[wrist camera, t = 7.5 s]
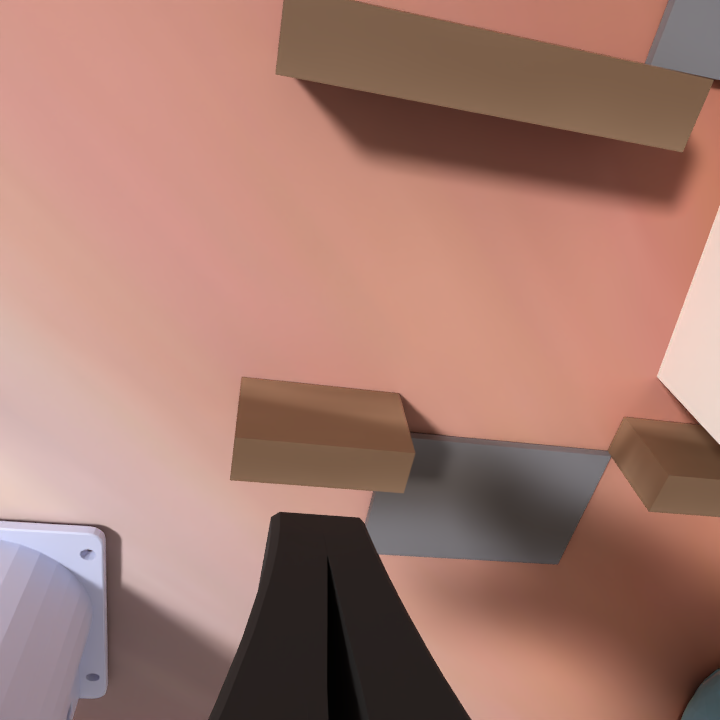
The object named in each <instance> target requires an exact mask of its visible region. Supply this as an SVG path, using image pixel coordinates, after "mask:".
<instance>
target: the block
mask: <svg viewBox="0 0 720 720" xmlns="http://www.w3.org/2000/svg"><path fill="white" fill-rule="evenodd" d="M657 377H658V378H659V380H660V381H661V382H662V383H663V384H664V385H665V386H666V387H667V388H668V389H669V390H670V391H671V393H672V394H673V395H674V396H675V397H676V398H677V399H678V400H679V401H680V402H681V403H682V404H683V406H684V407H685V408H686V409H687V410H688V411H689V412H690V413H691V414H692V415H693V416H694V417H695V419H696V420H697V421H698V422H699V423H700V424H701V425H702V426H703V427H704V428H705V429H706V430H707V432H708V433H709V434H710V435H711V436H712V437H713V438H714V439H715V440H716V441H717V442H718V443H719V445H720V207H719V210H718V213H717V215H716V218H715V221H714V223H713V226H712V229H711V232H710V234H709V237H708V240H707V242H706V245H705V248H704V250H703V253H702V256H701V259H700V261H699V264H698V267H697V269H696V272H695V275H694V278H693V280H692V283H691V286H690V288H689V291H688V294H687V296H686V299H685V302H684V305H683V307H682V310H681V313H680V315H679V318H678V321H677V324H676V326H675V329H674V332H673V334H672V337H671V340H670V342H669V345H668V348H667V351H666V353H665V356H664V359H663V361H662V364H661V367H660V370H659V372H658V375H657Z"/></svg>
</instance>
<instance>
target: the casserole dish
mask: <svg viewBox="0 0 720 720" xmlns="http://www.w3.org/2000/svg"><path fill="white" fill-rule="evenodd" d="M681 720H720V668H719V669H717V670H716V671H714V672H713V673H712V674H711V675H710V676H708V677H707V678H706V679H705V680H704V681H703V683H702V684H701V685H700V686H699V687H698V689H697V691H696V692H695V694H694V696H693V697H692V699H691V700H690V701H689V703H688V705H687V707H686V709H685V711H684V713H683V716H682V718H681Z"/></svg>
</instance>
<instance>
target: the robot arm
mask: <svg viewBox="0 0 720 720" xmlns="http://www.w3.org/2000/svg"><path fill="white" fill-rule="evenodd" d="M86 549H89V550H92V551H88V550H86ZM107 687H108V648H107V591H106V537H105V534H104V533H103V532H102V531H101V530H100V529H98V528H96V527H91V526H76V525H59V524H43V523H26V522H9V521H0V720H73V716H74V713H75V710H76V706H77V703H78V699H79V698H87V699H94V698H100V697H102V696H103V695H105V694H106V691H107ZM208 720H471V718H470V717H469V715H468V714H467V712H466V711H465V709H464V708H463V706H462V704H461V703H460V701H459V700H458V698H457V696H456V695H455V693H454V692H453V690H452V689H451V687H450V685H449V684H448V682H447V681H446V679H445V677H444V676H443V674H442V672H441V671H440V669H439V667H438V666H437V664H436V662H435V661H434V659H433V657H432V656H431V654H430V652H429V650H428V649H427V647H426V645H425V643H424V641H423V640H422V638H421V636H420V634H419V632H418V631H417V629H416V627H415V625H414V624H413V622H412V620H411V618H410V616H409V615H408V613H407V611H406V609H405V607H404V605H403V603H402V601H401V600H400V598H399V596H398V594H397V592H396V590H395V588H394V586H393V584H392V582H391V580H390V578H389V576H388V574H387V572H386V570H385V568H384V565H383V563H382V561H381V559H380V557H379V555H378V553H377V551H376V548H375V546H374V544H373V542H372V539H371V537H370V535H369V533H368V530H367V528H366V526H365V524H364V522H363V521H362V520H361V519H360V518H356V517H342V516H328V515H315V514H301V513H287V512H279V513H277V514H276V515H274V516H272V517H271V521H270V526H269V532H268V537H267V543H266V549H265V554H264V560H263V566H262V571H261V577H260V583H259V588H258V593H257V596H256V599H255V602H254V605H253V608H252V611H251V613H250V616H249V619H248V622H247V625H246V628H245V631H244V634H243V637H242V640H241V642H240V645H239V648H238V650H237V653H236V655H235V657H234V660H233V662H232V665H231V667H230V670H229V672H228V674H227V677H226V679H225V682H224V684H223V687H222V689H221V691H220V694H219V696H218V699H217V701H216V703H215V706H214V708H213V710H212V712H211V715H210V717H209V719H208Z"/></svg>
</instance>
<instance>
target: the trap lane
mask: <svg viewBox="0 0 720 720" xmlns="http://www.w3.org/2000/svg"><path fill="white" fill-rule="evenodd" d="M652 65H653V66H652ZM661 67H662V68H661ZM665 68H666V69H665ZM670 69H671V70H670ZM674 70H676V71H674ZM678 71H680V72H678ZM682 72H685V73H682ZM687 73H689V74H687ZM691 74H694V75H691ZM276 75H282V76H287V77H292V78H297V79H303V80H308V81H313V82H318V83H323V84H329V85H334V86H339V87H344V88H349V89H355V90H360V91H365V92H370V93H376V94H381V95H386V96H391V97H396V98H402V99H407V100H412V101H417V102H423V103H428V104H433V105H438V106H443V107H449V108H454V109H459V110H464V111H469V112H475V113H480V114H485V115H490V116H496V117H501V118H506V119H511V120H516V121H522V122H527V123H532V124H537V125H543V126H548V127H553V128H558V129H563V130H569V131H574V132H579V133H584V134H589V135H595V136H600V137H605V138H610V139H616V140H621V141H626V142H631V143H636V144H642V145H647V146H652V147H657V148H662V149H668V150H673V151H678V152H683V150H684V148H685V146H686V143H687V141H688V139H689V137H690V134H691V132H692V130H693V127H694V125H695V123H696V120H697V118H698V116H699V113H700V111H701V109H702V107H703V104H704V102H705V100H706V97H707V95H708V93H709V90H710V88H711V86H712V83H713V81H714V80H712V79H717V80H720V0H669V1H668V4H667V6H666V9H665V12H664V14H663V17H662V20H661V22H660V25H659V28H658V30H657V33H656V35H655V38H654V41H653V43H652V46H651V49H650V51H649V54H648V57H647V59H646V62H645V64H644V63H639V62H635V61H630V60H625V59H621V58H616V57H612V56H607V55H602V54H598V53H593V52H589V51H584V50H579V49H575V48H570V47H566V46H561V45H557V44H552V43H547V42H543V41H538V40H534V39H529V38H524V37H520V36H515V35H511V34H506V33H501V32H497V31H492V30H488V29H483V28H478V27H474V26H469V25H465V24H460V23H455V22H451V21H446V20H442V19H437V18H432V17H428V16H423V15H419V14H414V13H409V12H405V11H400V10H396V9H391V8H386V7H382V6H377V5H373V4H368V3H363V2H359V1H354V0H284V2H283V11H282V20H281V29H280V38H279V47H278V56H277V65H276ZM695 75H699V76H703V77H699V76H695ZM704 77H708V78H712V79H708V78H704ZM611 457H612V458H613V460H614V461H615V463H616V464H617V466H618V467H619V468H620V470H621V471H622V473H623V474H624V476H625V477H626V479H627V480H628V482H629V483H630V485H631V486H632V488H633V489H634V491H635V492H636V493H637V495H638V496H639V498H640V499H641V501H642V502H643V504H644V505H645V507H646V508H647V510H648V511H649V512H660V513H673V514H686V515H700V516H713V517H720V445H719V443H718V442H717V441H716V440H715V439H714V438H713V437H712V436H711V435H710V434H709V433H708V432H707V430H706V429H705V428H704V427H703V426H702V425H697V424H687V423H677V422H668V421H658V420H649V419H639V418H630V417H624V418H623V420H622V422H621V424H620V427H619V429H618V431H617V433H616V435H615V437H614V439H613V441H612V443H611V445H610V447H609V449H608V451H603V450H592V449H581V448H571V447H560V446H549V445H539V444H528V443H517V442H506V441H496V440H485V439H474V438H464V437H453V436H442V435H431V434H421V433H410V431H409V428H408V424H407V420H406V416H405V413H404V409H403V405H402V402H401V398H400V394H399V393H391V392H381V391H371V390H362V389H352V388H343V387H333V386H324V385H314V384H304V383H295V382H285V381H276V380H266V379H257V378H247V377H242V379H241V387H240V396H239V405H238V413H237V422H236V431H235V440H234V448H233V457H232V466H231V475H230V480H234V481H248V482H261V483H274V484H288V485H301V486H314V487H328V488H341V489H354V490H367V491H373V495H372V499H371V503H370V506H369V510H368V514H367V518H366V522H365V526H366V528H367V530H368V533H369V535H370V537H371V539H372V542H373V544H374V546H375V548H376V551H377V553H378V554H382V555H400V556H417V557H435V558H453V559H470V560H488V561H505V562H523V563H541V564H558V563H559V561H560V559H561V557H562V555H563V553H564V551H565V549H566V547H567V545H568V543H569V541H570V539H571V537H572V535H573V533H574V531H575V529H576V527H577V525H578V523H579V521H580V519H581V517H582V515H583V513H584V511H585V509H586V507H587V505H588V503H589V500H590V498H591V496H592V494H593V492H594V490H595V488H596V486H597V484H598V482H599V480H600V478H601V476H602V474H603V472H604V470H605V468H606V466H607V464H608V462H609V460H610V458H611Z"/></svg>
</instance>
